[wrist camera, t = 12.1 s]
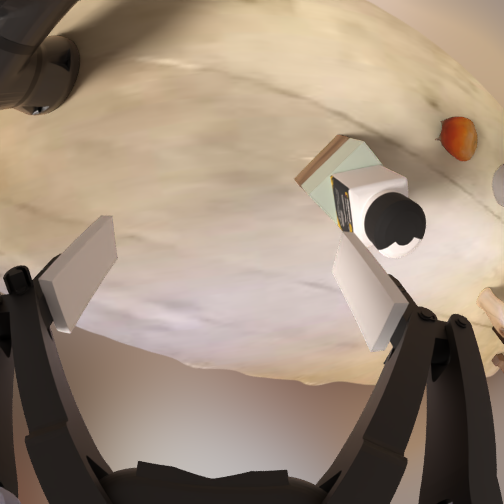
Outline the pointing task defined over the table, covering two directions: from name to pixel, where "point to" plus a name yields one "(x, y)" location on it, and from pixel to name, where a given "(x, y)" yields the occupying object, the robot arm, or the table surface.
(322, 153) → the walnut slab
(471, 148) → the fruit
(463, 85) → the table surface
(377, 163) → the sage slab
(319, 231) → the table surface
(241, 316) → the table surface
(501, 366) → the wooden block
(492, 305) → the beer glass
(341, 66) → the table surface
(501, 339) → the coffee grinder
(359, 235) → the medicine bottle
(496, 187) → the lumpy-topped squat cylinder
